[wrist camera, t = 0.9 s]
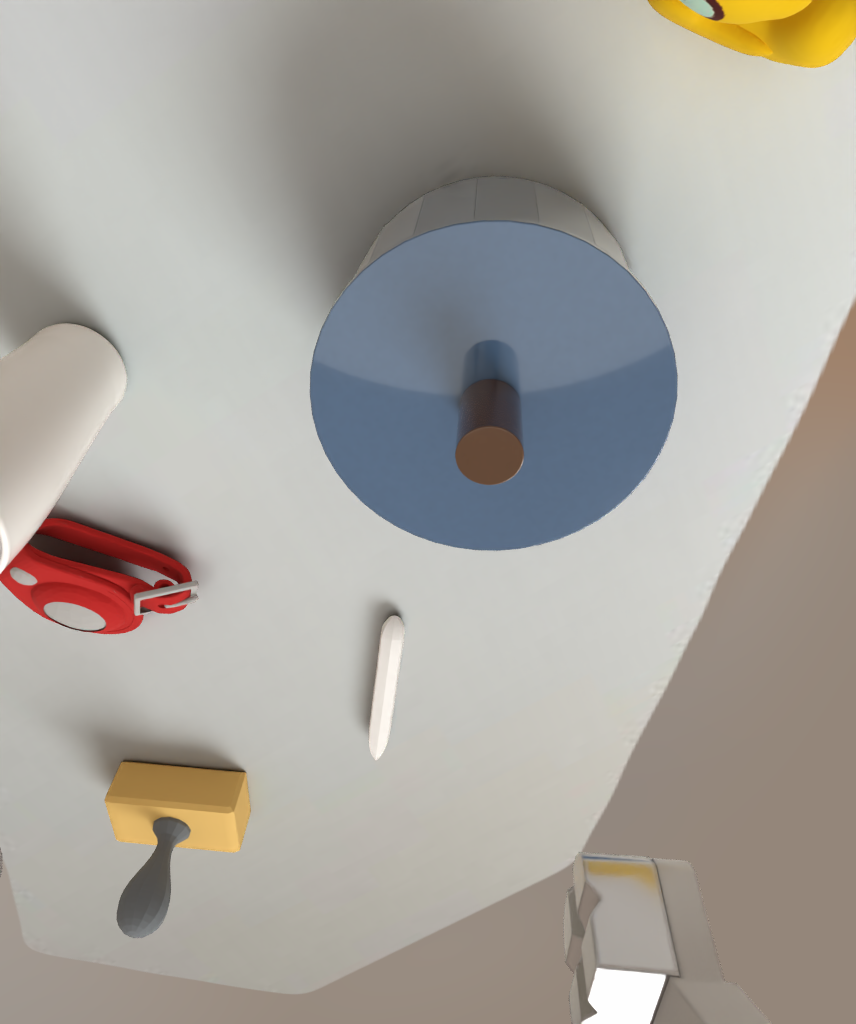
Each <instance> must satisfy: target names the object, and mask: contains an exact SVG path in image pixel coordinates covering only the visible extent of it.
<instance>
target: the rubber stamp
mask: <svg viewBox="0 0 856 1024" xmlns="http://www.w3.org/2000/svg"><path fill="white" fill-rule="evenodd" d="M105 803H106V807H107V810H108V813H109V817H110V820H111V824H112V827H113V831H114V834H115V837H116V840H118V841H121V842H129V843H140V844H150V845H157V847H156V849H155V851H154V853H153V854H152V856H151V857H150V859H149V860H148V861H147V862H146V863H145V865H144V866H143V867H142V868H141V869H140V870H139V871H138V872H137V874H136V875H135V876H134V877H133V878H132V879H131V881H130V882H129V883H128V885H127V886H126V888H125V889H124V891H123V893H122V895H121V898H120V900H119V905H118V910H117V922H118V926H119V927H120V929H121V930H122V931H123V933H124V934H126V935H128V936H129V937H132V938H143V937H145V936H147V935H149V934H151V933H153V932H154V931H155V930H157V929H158V928H159V926H160V925H161V924H162V922H163V920H164V918H165V916H166V913H167V910H168V906H169V902H170V895H171V879H170V859H171V853H172V851H173V848H174V847H182V848H192V849H203V850H213V851H223V852H236V851H239V850H240V847H241V844H242V841H243V837H244V834H245V830H246V827H247V823H248V819H249V816H250V812H251V809H250V801H249V793H248V785H247V777H246V773H245V772H234V771H224V770H213V769H202V768H191V767H180V766H170V765H159V764H148V763H137V762H121V764H120V766H119V769H118V771H117V773H116V775H115V777H114V779H113V782H112V784H111V786H110V788H109V790H108V793H107V795H106V798H105Z"/></svg>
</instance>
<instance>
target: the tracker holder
mask: <svg viewBox="0 0 856 1024" xmlns="http://www.w3.org/2000/svg"><path fill="white" fill-rule="evenodd" d="M35 534H42V535H47V536H51V537H54V538H57V539H60V540H63V541H66V542H69V543H72V544H75V545H78V546H81V547H84V548H87V549H90V550H93V551H96V552H100V553H103V554H106V555H109V556H112V557H115V558H118V559H121V560H124V561H127V562H130V563H133V564H135V565H138V566H141V567H144V568H148V569H151V570H154V571H157V572H159V573H161V574H163V575H165V576H167V577H169V578H171V579H173V580H175V581H177V582H178V583H179V584H178V585H174V584H173V583H172V582H171V581H169V580H164V579H163V580H159V581H157V582H156V583H155V585H154V587H153V586H151V585H149V584H148V583H146V582H144V581H142V580H140V579H138V578H135V577H131V576H128V575H125V574H122V573H118V572H114V571H110V570H106V569H102V568H98V567H94V566H90V565H86V564H82V563H78V562H75V561H71V560H67V559H63V558H59V557H55V556H52V555H50V554H47V553H45V552H43V551H40V550H38V549H36V548H34V547H33V546H31V545H30V544H29V543H27V544H26V545H25V546H24V548H23V549H22V550H21V551H20V552H19V553H18V555H17V556H16V557H15V558H14V559H13V560H12V561H11V562H10V563H9V565H8V566H7V567H6V568H5V569H4V570H3V571H2V573H1V574H0V581H1V582H2V583H3V584H4V585H5V586H6V587H7V588H8V589H9V590H10V591H11V592H12V593H13V594H14V595H15V596H16V597H17V598H18V599H19V600H20V601H22V602H23V603H24V604H25V605H26V606H28V607H29V608H30V609H32V610H33V611H34V612H36V613H37V614H39V615H41V616H42V617H44V618H46V619H48V620H51V621H53V622H55V623H58V624H60V625H62V626H65V627H68V628H71V629H75V630H79V631H83V632H92V633H100V634H119V633H126V632H129V631H132V630H134V629H136V628H137V627H138V626H139V625H140V624H141V622H142V620H143V614H147V613H151V612H157V613H164V614H171V613H175V612H177V611H180V610H183V609H184V608H185V607H186V606H187V604H190V603H194V602H196V600H198V596H197V590H198V582H197V581H192V579H191V575H190V572H189V570H188V569H187V568H186V567H185V566H183V565H182V564H181V563H179V562H178V561H176V560H174V559H172V558H170V557H168V556H166V555H163V554H161V553H159V552H157V551H154V550H152V549H149V548H146V547H144V546H141V545H138V544H136V543H133V542H130V541H127V540H124V539H121V538H119V537H116V536H113V535H110V534H107V533H104V532H101V531H99V530H96V529H93V528H90V527H87V526H84V525H81V524H79V523H76V522H73V521H70V520H65V519H59V518H50V519H45V521H44V522H43V524H42V525H41V526H40V528H39V529H38V530H37V532H36V533H35Z"/></svg>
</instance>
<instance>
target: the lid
mask: <svg viewBox="0 0 856 1024" xmlns="http://www.w3.org/2000/svg"><path fill="white" fill-rule="evenodd" d="M677 378H678V375H677V367H676V360H675V353H674V349H673V346H672V342H671V339H670V335H669V332H668V329H667V327H666V325H665V323H664V321H663V318H662V316H661V314H660V312H659V310H658V308H657V305H656V304H655V302H654V301H653V299H652V298H651V296H650V295H649V293H648V292H647V290H646V289H645V287H644V286H643V284H642V283H641V282H640V281H639V280H638V279H637V278H636V277H635V276H634V274H633V273H632V272H631V271H630V270H629V269H628V268H627V267H626V266H625V265H624V264H623V263H621V262H620V261H619V260H618V259H616V258H615V257H614V256H613V255H612V254H610V253H609V252H608V251H607V250H605V249H603V248H602V247H600V246H598V245H597V244H595V243H593V242H592V241H590V240H589V239H587V238H585V237H583V236H581V235H578V234H576V233H574V232H571V231H569V230H567V229H564V228H562V227H559V226H555V225H552V224H548V223H544V222H541V221H537V220H531V219H524V218H516V217H509V216H500V217H475V218H467V219H460V220H454V221H450V222H447V223H443V224H439V225H436V226H432V227H429V228H426V229H424V230H422V231H419V232H417V233H415V234H413V235H410V236H408V237H406V238H404V239H402V240H400V241H399V242H397V243H395V244H394V245H392V246H390V247H389V248H387V249H385V250H384V251H382V252H381V253H380V254H379V255H377V256H376V257H375V258H374V259H372V260H371V261H370V262H369V263H368V264H366V265H365V266H364V267H363V268H362V269H361V270H360V271H359V272H358V273H357V274H356V275H355V276H354V277H353V279H352V280H351V281H350V282H349V283H348V284H347V285H346V287H345V288H344V289H343V291H342V292H341V294H340V295H339V297H338V298H337V300H336V301H335V302H334V304H333V306H332V308H331V310H330V312H329V314H328V316H327V318H326V320H325V322H324V324H323V326H322V328H321V331H320V334H319V337H318V340H317V343H316V346H315V349H314V354H313V360H312V365H311V371H310V400H311V408H312V415H313V419H314V423H315V427H316V431H317V434H318V437H319V439H320V442H321V444H322V446H323V449H324V451H325V454H326V455H327V457H328V459H329V461H330V462H331V464H332V466H333V467H334V469H335V471H336V472H337V474H338V475H339V476H340V478H341V479H342V480H343V482H344V483H345V484H346V485H347V487H348V488H349V489H350V490H351V491H352V492H353V493H354V494H355V495H356V496H357V497H358V498H359V499H360V500H361V501H362V502H363V503H364V504H365V505H366V506H368V507H369V508H370V509H371V510H373V511H374V512H375V513H376V514H378V515H379V516H380V517H382V518H384V519H385V520H387V521H388V522H390V523H392V524H393V525H395V526H396V527H399V528H401V529H403V530H405V531H407V532H409V533H411V534H413V535H415V536H418V537H421V538H424V539H427V540H429V541H432V542H435V543H439V544H443V545H448V546H452V547H457V548H465V549H472V550H496V551H498V550H511V549H520V548H526V547H531V546H537V545H541V544H544V543H548V542H551V541H555V540H558V539H561V538H563V537H566V536H568V535H571V534H573V533H575V532H578V531H580V530H582V529H584V528H585V527H587V526H589V525H591V524H593V523H594V522H596V521H598V520H599V519H601V518H602V517H604V516H605V515H606V514H608V513H609V512H611V511H612V510H614V509H615V508H616V507H617V506H618V505H619V504H621V503H622V502H623V501H624V500H625V499H626V498H627V497H628V496H629V495H630V494H632V492H633V491H634V490H635V489H636V488H637V487H638V485H639V484H640V483H641V482H642V481H643V480H644V478H645V477H646V476H647V474H648V473H649V471H650V470H651V468H652V467H653V465H654V464H655V462H656V461H657V459H658V457H659V455H660V453H661V451H662V449H663V447H664V444H665V442H666V440H667V437H668V434H669V431H670V428H671V425H672V422H673V419H674V413H675V407H676V401H677Z"/></svg>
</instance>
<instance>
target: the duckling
mask: <svg viewBox="0 0 856 1024" xmlns="http://www.w3.org/2000/svg"><path fill="white" fill-rule="evenodd" d="M648 2H649V4H650V5H651V6H652V7H653V8H654V9H655V10H656V11H657V12H658V13H659V14H661V15H662V16H664V17H665V18H667V19H668V20H670V21H672V22H674V23H676V24H678V25H680V26H682V27H684V28H686V29H688V30H690V31H692V32H694V33H696V34H698V35H700V36H703V37H705V38H707V39H709V40H712V41H714V42H716V43H718V44H721V45H723V46H725V47H728V48H730V49H733V50H735V51H738V52H741V53H744V54H747V55H752V56H762V57H765V58H767V59H769V60H772V61H775V62H779V63H784V64H790V65H795V66H801V67H808V68H816V67H821V66H825V65H827V64H829V63H831V62H833V61H834V60H836V59H837V58H838V57H839V56H840V55H841V54H842V53H843V52H844V51H845V50H846V49H847V48H848V47H849V46H850V45H851V43H852V42H853V41H854V39H855V38H856V0H648Z"/></svg>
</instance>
